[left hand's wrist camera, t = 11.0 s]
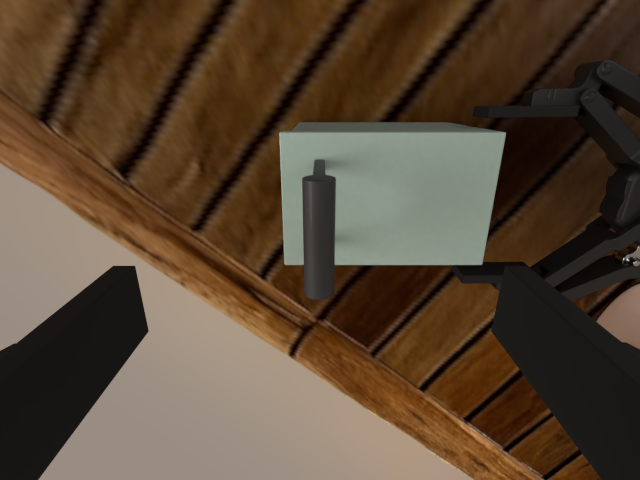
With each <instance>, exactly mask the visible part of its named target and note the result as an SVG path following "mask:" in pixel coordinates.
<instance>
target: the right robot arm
mask: <svg viewBox="0 0 640 480" xmlns="http://www.w3.org/2000/svg"><path fill="white" fill-rule="evenodd" d="M601 95H603V96H605V97H606V98H608V99H609V100H611V101H613V102H614V103H616V104H618V105H619V106H621V107H623V108H624V109H626V110H627V111H629V112H631V113H632V114H634V115H636V116H637V117H639V118H640V78H638V77H637V76H635V75H634V74H632V73H630V72H629V71H627V70H626V69H624V68H622V67H621V66H619V65H618V64H616V63H615V62H613V61H611V60H606V61H598V62H591V63H585V64H581V65H579V66H578V67H577V68H576V70H575V79H574V81H573V83H572V84H571V85H570V86H569V87H567V88H565V89H531V90H529V91H526V92H524V95H523V100H522V106H474V112H473V116H476V117H485V118H510V117H574V118H575V119H576V120H577V121H578V123H579V124H580V125H581V126H582V127H583V128H584V129H585V130H586V131H587V133H588V134H589V135H590V136H591V137H592V138H593V139H594V140H595V141H596V143H597V144H598V145H599V146H600V147H601V148H602V149H603V150H604V152H605V153H606V154H607V156H606V158H607V159H608V160H609V161H610V162H611V163H612V165H613V166H614V167H615V168H616V169H617V171H616V172H615V173H614V175H613V176H609V178H608V181H607V185H606V196H605V198H604V199H603V201H602V203H601V206H600V209H599V212H600V213H602V216H600V217H599V218H597V219H596V220H594V221H593V222H591V223H590V224H588V225H587V227H586V231H584V232H583V233H581V234H580V235H578V236H577V237H575V238H574V239H572V240H571V241H569V242H568V243H566V244H565V245H563V246H562V247H560V248H559V249H557V250H556V251H554V252H552V253H551V254H549V255H548V256H546V257H545V258H543V259H542V260H540V261H539V262H537V263H536V264H534V265H533V266H531V267H529V266H527V265H526V264H525V263H524V262H483V263H482V265H452V271H453V272H454V273H455V275H456V276H457V277H458V278H459V280H460V281H461V282H462V283H491V284H492V285H493V286H494V287H495V288H496V289H497V290H500V288H501V283H502V278H503V274H504V269H505V266H527V267H529V268H530V269H531V270H532V271H534V272H535V273H536V274H537V275H539V276H540V277H541V278H542V279H544V280H545V281H546V282H547V283H549V284H550V285H551V286H552V287H554V288H555V289H556V290H557V291H559V292H560V293H561V294H562V295H564V296H565V297H566V298H567V299H569V300H570V301H572V300H575V299H577V298H580V297H582V296H585V295H587V294H590V293H592V292H595V291H598V290H600V289H603V288H605V287H608V286H610V285H613V284H615V283H618V282H620V281H623V280H625V279H633V278H640V140H639V139H638V138H637V137H636V136H635V134H634V133H633V132H632V131H631V130H630V128H629V127H628V126H627V125H626V124H625V123H624V121H623V120H622V119H621V118H620V117H619V116H618V114H617V113H616V112H615V111H614V110H613V108H612V107H611V106H610V105H609V104H608V103H607V101H606V100H605V99H604V98H603V97H602V96H601ZM611 227H612V228H613V229H614V230H615V231H617V232H616V233H615V232H612V231H609V230H608V229H609V228H611ZM628 245H629V246H628ZM627 246H628V247H627ZM625 247H627V248H626V249H624V250H621V249H623V248H625ZM612 250H615V251H614V252H613V255H609V256H605V257H602V256H604V255H606V254H607V253H609V252H610V251H612ZM619 250H621V251H619ZM601 257H602V258H601Z"/></svg>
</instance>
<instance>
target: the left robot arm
mask: <svg viewBox="0 0 640 480" xmlns="http://www.w3.org/2000/svg"><path fill="white" fill-rule="evenodd" d="M147 333H148V326H147V322H146V317H145V312H144V307H143V302H142V298H141V293H140V288H139V283H138V278H137V274H136V269H135V266H113V267H112V268H110V269H109V270H108V271H106V272H105V273H104V274H103V275H101V276H100V277H99V278H98V279H97V280H95V281H94V282H93V283H92V284H90V285H89V286H88V287H86V288H85V289H84V290H83V291H82V292H80V293H79V294H78V295H77V296H75V297H74V298H73V299H71V300H70V301H69V302H68V303H66V304H65V305H64V306H63V307H62V308H60V309H59V310H58V311H57V312H55V313H54V314H53V315H51V316H50V317H49V318H48V319H47V320H45V321H44V322H43V323H41V324H40V325H39V326H38V327H36V328H35V329H34V330H33V331H32V332H30V333H29V334H28V335H27V336H25V337H24V338H23V339H22V340H20V341H19V342H18V343H17V344H13V345H11V346H9V347H7V348H5V349H3V350H1V351H0V480H38V479H39V478H40V476H41V475H42V474H43V472H44V471H45V470H46V468H47V467H48V466H49V464H50V463H51V462H52V460H53V459H54V458H55V456H56V455H57V453H58V452H59V451H60V450H61V448H62V447H63V446H64V444H65V443H66V441H67V440H68V439H69V437H70V436H71V435H72V433H73V432H74V431H75V429H76V428H77V427H78V425H79V424H80V423H81V421H82V420H83V419H84V417H85V416H86V415H87V413H88V412H89V411H90V409H91V408H92V407H93V405H94V404H95V403H96V401H97V400H98V398H99V397H100V396H101V394H102V393H103V392H104V390H105V389H106V388H107V386H108V385H109V384H110V382H111V381H112V380H113V378H114V377H115V376H116V374H117V373H118V372H119V370H120V369H121V367H122V366H123V365H124V364H125V362H126V361H127V359H128V358H129V357H130V355H131V354H132V353H133V351H134V350H135V349H136V347H137V346H138V345H139V343H140V342H141V341H142V339H143V338H144V337H145V335H146V334H147ZM492 333H493V334H494V335H495V337H496V338H497V339H498V341H499V342H500V343H501V345H502V346H503V347H504V349H505V350H506V351H507V353H508V354H509V355H510V357H511V358H512V359H513V361H514V362H515V364H516V365H517V366H518V368H519V369H520V370H521V372H522V373H523V374H524V376H525V377H526V378H527V380H528V381H529V382H530V384H531V385H532V386H533V388H534V389H535V390H536V392H537V393H538V394H539V396H540V397H541V398H542V400H543V401H544V403H545V404H546V405H547V407H548V408H549V409H550V411H551V412H552V413H553V415H554V416H555V417H556V419H557V420H558V421H559V423H560V424H561V425H562V427H563V428H564V429H565V431H566V432H567V433H568V435H569V436H570V437H571V439H572V440H573V442H574V443H575V444H576V446H577V447H578V448H579V450H580V451H581V452H582V454H583V455H584V456H585V458H586V459H587V460H588V462H589V463H590V464H591V466H592V467H593V468H594V470H595V471H596V472H597V474H598V475H599V476H600V478H601V479H602V480H640V349H638V348H636V347H634V346H632V345H630V344H628V343H627V342H621V341H620V340H618V339H617V338H616V337H615V336H613V335H612V334H611V333H610V332H608V331H607V330H606V329H605V328H603V327H602V326H601V325H600V324H599V323H597V322H596V321H595V320H594V319H592V318H591V317H590V316H589V315H587V314H586V313H585V312H584V311H582V310H581V309H580V308H579V307H577V306H576V305H575V304H574V303H572V302H571V301H570V300H569V299H567V298H566V297H565V296H564V295H562V294H561V293H560V292H559V291H557V290H556V289H555V288H554V287H552V286H551V285H550V284H549V283H547V282H546V281H545V280H544V279H542V278H541V277H540V276H539V275H537V274H536V273H535V272H534V271H532V270H531V269H530V268H529V267H527V266H505V269H504V274H503V278H502V283H501V288H500V293H499V297H498V302H497V307H496V312H495V317H494V321H493V326H492Z"/></svg>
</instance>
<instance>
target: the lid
mask: <svg viewBox="0 0 640 480" xmlns="http://www.w3.org/2000/svg"><path fill="white" fill-rule="evenodd" d="M505 137H506V132H501V131H281V132H280V133H279V138H280V163H281V188H282V213H283V238H284V262H285V265H304V293H305V295H306V296H307V297H308V298H311V299H315V300H324V299H328V298H330V297H331V296H333V294H334V271H335V265H482V263H483V257H484V252H485V246H486V241H487V236H488V230H489V225H490V219H491V214H492V208H493V203H494V197H495V192H496V186H497V181H498V175H499V170H500V164H501V159H502V153H503V148H504V142H505Z"/></svg>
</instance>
